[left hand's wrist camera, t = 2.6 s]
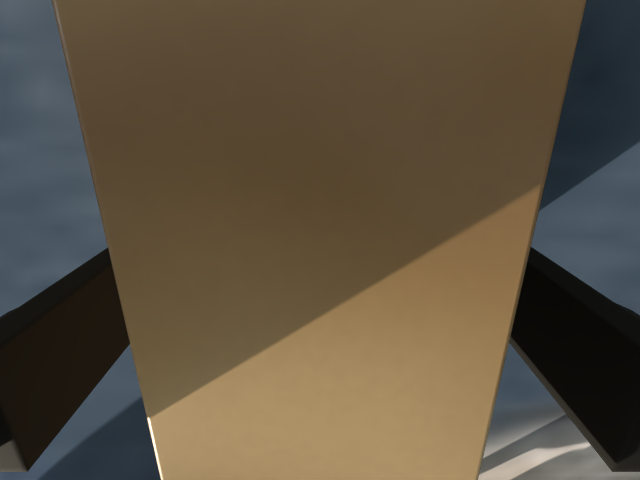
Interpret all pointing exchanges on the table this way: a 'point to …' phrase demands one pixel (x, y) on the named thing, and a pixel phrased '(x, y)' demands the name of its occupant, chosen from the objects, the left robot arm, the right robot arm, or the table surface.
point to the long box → (319, 219)
